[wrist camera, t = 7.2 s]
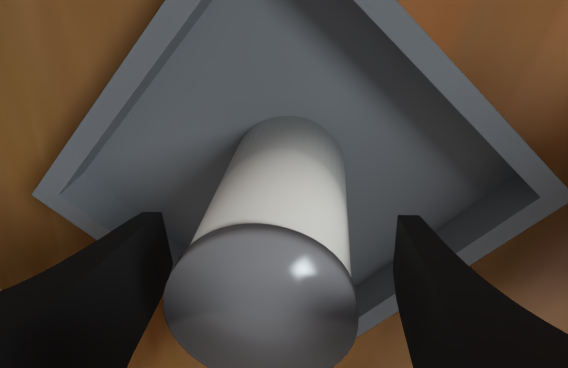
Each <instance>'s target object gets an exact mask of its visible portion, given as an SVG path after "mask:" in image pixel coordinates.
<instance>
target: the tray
mask: <svg viewBox="0 0 568 368" xmlns="http://www.w3.org/2000/svg"><path fill="white" fill-rule="evenodd" d="M278 116H297V117H302V118H306V119H308V120H311V121H313V122H315V123H317V124H319V125H320V126H322V127H323V128H325V129H326V130H327V131H328V132H329V133H330V134H331V135H332V136H333V137H334V138H335V140H336V141H337V143H338V145H339V147H340V149H341V151H342V154H343V158H344V166H345V181H346V197H347V213H348V229H349V245H350V261H351V277H352V280H353V283H354V286H355V289H356V295H357V304H358V318H359V319H358V331H357V335H356V338H357V337H358V336H360V335H361V334H363V333H365V332H366V331H368V330H369V329H371V328H372V327H374V326H376V325H377V324H379V323H380V322H382V321H383V320H385V319H387V318H388V317H390V316H391V315H393V314H394V313H396V312H398V311H399V309H398V305H397V301H396V294H395V286H394V277H393V261H394V250H395V239H396V228H397V217H398V215H419V216H420V217H421V218H422V219H423V220H424V221H425V222H426V223H427V224H428V225H429V226H430V227H431V228H432V230H433V231H434V232H435V233H436V234H437V235H438V236H439V237H440V238H441V239H442V240H443V241H444V242H445V243H446V244H447V245H448V247H449V248H450V249H451V250H453V251H454V252H455V253H456V254H457V255H458V256H459V257H460V258H461V259H462V260H463V261H464V262H465V263H466V264H467V265H468V266H470V265H471V264H473V263H474V262H476V261H478V260H479V259H481V258H482V257H484V256H485V255H487V254H489V253H490V252H492V251H493V250H495V249H496V248H498V247H500V246H501V245H503V244H504V243H506V242H507V241H509V240H511V239H512V238H514V237H515V236H517V235H518V234H520V233H522V232H523V231H525V230H526V229H528V228H529V227H531V226H533V225H534V224H536V223H537V222H539V221H540V220H542V219H544V218H545V217H547V216H548V215H550V214H551V213H553V212H555V211H556V210H558V209H559V208H561V207H562V206H564V205H566V204H567V203H568V188H567V187H566V186H565V185H564V184H563V183H562V182H561V181H560V179H559V178H558V177H557V176H556V175H555V174H554V173H553V172H552V171H551V170H550V168H549V167H548V166H547V165H546V164H545V163H544V162H543V161H542V160H541V159H540V158H539V156H538V155H537V154H536V153H535V152H534V151H533V150H532V149H531V148H530V147H529V145H528V144H527V143H526V142H525V141H524V140H523V139H522V138H521V137H520V136H519V134H518V133H517V132H516V131H515V130H514V129H513V128H512V127H511V126H510V125H509V124H508V122H507V121H506V120H505V119H504V118H503V117H502V116H501V115H500V114H499V113H498V111H497V110H496V109H495V108H494V107H493V106H492V105H491V104H490V103H489V102H488V100H487V99H486V98H485V97H484V96H483V95H482V94H481V93H480V92H479V91H478V90H477V88H476V87H475V86H474V85H473V84H472V83H471V82H470V81H469V80H468V79H467V77H466V76H465V75H464V74H463V73H462V72H461V71H460V70H459V69H458V68H457V66H456V65H455V64H454V63H453V62H452V61H451V60H450V59H449V58H448V57H447V55H446V54H445V53H444V52H443V51H442V50H441V49H440V48H439V47H438V46H437V45H436V43H435V42H434V41H433V40H432V39H431V38H430V37H429V36H428V35H427V34H426V32H425V31H424V30H423V29H422V28H421V27H420V26H419V25H418V24H417V23H416V21H415V20H414V19H413V18H412V17H411V16H410V15H409V14H408V13H407V12H406V11H405V9H404V8H403V7H402V6H401V5H400V4H399V3H398V2H397V1H396V0H165V1H164V3H163V4H162V6H161V7H160V9H159V10H158V11H157V13H156V14H155V16H154V17H153V19H152V20H151V22H150V23H149V25H148V26H147V27H146V29H145V30H144V32H143V33H142V35H141V36H140V38H139V39H138V41H137V42H136V43H135V45H134V46H133V48H132V49H131V51H130V52H129V54H128V55H127V57H126V58H125V59H124V61H123V62H122V64H121V65H120V67H119V68H118V70H117V71H116V73H115V74H114V75H113V77H112V78H111V80H110V81H109V83H108V84H107V86H106V87H105V89H104V90H103V91H102V93H101V94H100V96H99V97H98V99H97V100H96V102H95V103H94V105H93V106H92V107H91V109H90V110H89V112H88V113H87V115H86V116H85V118H84V119H83V121H82V122H81V123H80V125H79V126H78V128H77V129H76V131H75V132H74V134H73V135H72V137H71V138H70V139H69V141H68V142H67V144H66V145H65V147H64V148H63V150H62V151H61V153H60V154H59V155H58V157H57V158H56V160H55V161H54V163H53V164H52V166H51V167H50V169H49V170H48V171H47V173H46V174H45V176H44V177H43V179H42V180H41V182H40V183H39V185H38V186H37V187H36V189H35V190H34V192H33V193H32V196H34V197H35V198H36V199H38V200H39V201H41V202H42V203H44V204H45V205H47V206H48V207H50V208H51V209H52V210H54V211H55V212H57V213H58V214H60V215H61V216H63V217H64V218H65V219H67V220H68V221H70V222H71V223H73V224H74V225H76V226H77V227H78V228H80V229H81V230H83V231H84V232H86V233H87V234H89V235H90V236H92V237H93V238H94V239H96V240H98V239H100V238H102V237H103V236H105V235H106V234H108V233H109V232H111V231H112V230H114V229H116V228H117V227H119V226H120V225H122V224H123V223H125V222H126V221H128V220H130V219H131V218H133V217H135V216H136V215H138V214H140V213H142V212H162V215H163V220H164V224H165V229H166V233H167V238H168V242H169V247H170V251H171V256H172V260H173V267H172V270H171V273H172V271H173V269H174V267H175V265H176V263H177V261H178V259H179V257H180V256H181V255H182V253H183V252H184V251H185V250H186V249H187V248H188V247H189V246H190V244H191V242H192V240H193V238H194V236H195V234H196V232H197V230H198V228H199V225H200V223H201V221H202V219H203V217H204V215H205V213H206V211H207V209H208V207H209V205H210V203H211V201H212V199H213V197H214V195H215V193H216V191H217V189H218V186H219V184H220V182H221V180H222V178H223V176H224V174H225V172H226V170H227V168H228V166H229V164H230V162H231V160H232V158H233V156H234V154H235V152H236V150H237V148H238V145H239V143H240V141H241V140H242V138H243V137H244V135H245V134H246V133H247V132H248V131H249V130H250V129H251V128H253V127H254V126H255V125H257V124H258V123H260V122H262V121H264V120H267V119H269V118H273V117H278ZM171 273H170V275H171ZM169 277H170V276H169Z"/></svg>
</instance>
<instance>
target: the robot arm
mask: <svg viewBox="0 0 568 368" xmlns="http://www.w3.org/2000/svg"><path fill="white" fill-rule="evenodd" d="M172 267H173V260H172V256H171V251H170V247H169V242H168V238H167V233H166V229H165V224H164V220H163V215H162V212H142V213H140V214H138V215H136V216H135V217H133V218H131V219H130V220H128V221H126V222H125V223H123V224H122V225H120V226H119V227H117V228H116V229H114V230H112V231H111V232H109V233H108V234H106V235H105V236H103V237H102V238H100V239H98V240H97V241H95V242H94V243H92V244H91V245H89V246H87V247H86V248H84V249H82V250H81V251H79V252H77V253H76V254H74V255H72V256H70V257H69V258H67V259H65V260H64V261H62V262H60V263H59V264H57V265H55V266H53V267H51V268H49V269H47V270H46V271H44V272H42V273H40V274H38V275H36V276H34V277H32V278H29V279H27V280H25V281H23V282H21V283H19V284H17V285H14V286H12V287H10V288H7V289H5V290H3V291H0V368H127V366H128V364H129V361H130V359H131V357H132V355H133V353H134V351H135V349H136V347H137V345H138V343H139V341H140V339H141V337H142V335H143V333H144V331H145V329H146V327H147V325H148V323H149V321H150V319H151V317H152V315H153V313H154V311H155V309H156V307H157V305H158V303H159V301H160V299H161V297H162V295H163V293H164V290H165V286H166V283H167V281H168V279H169V276H170V273H171V270H172ZM393 277H394V286H395V294H396V301H397V305H398V309H399V313H400V317H401V321H402V325H403V329H404V333H405V337H406V341H407V345H408V349H409V353H410V357H411V361H412V364H413V368H568V334H567V333H565V332H563V331H561V330H560V329H558V328H556V327H554V326H553V325H551V324H549V323H547V322H546V321H544V320H542V319H541V318H539V317H538V316H536V315H534V314H533V313H531V312H530V311H528V310H526V309H525V308H523V307H522V306H520V305H519V304H517V303H516V302H514V301H513V300H511V299H510V298H509V297H507V296H506V295H504V294H503V293H502V292H500V291H499V290H498V289H496V288H495V287H494V286H492V285H491V284H490V283H488V282H487V281H486V280H485V279H483V278H482V277H481V276H480V275H479V274H478V273H476V272H475V271H474V270H473V269H472V268H471V267H469V266H468V265H467V264H466V263H465V262H464V261H463V260H462V259H461V258H460V257H459V256H458V255H457V254H456V253H455V252H454V251H453V250H451V249H450V248H449V247H448V245H447V244H446V243H445V242H444V241H443V240H442V239H441V238H440V237H439V236H438V235H437V234H436V233H435V232H434V231H433V230H432V228H431V227H430V226H429V225H428V224H427V223H426V222H425V221H424V220H423V219H422V218H421V217H420V216H419V215H398V217H397V228H396V239H395V250H394V261H393Z"/></svg>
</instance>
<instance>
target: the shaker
mask: <svg viewBox="0 0 568 368" xmlns="http://www.w3.org/2000/svg"><path fill="white" fill-rule="evenodd" d="M163 311H164V315H165V319H166V322H167V324H168V327H169V329H170V331H171V333H172V334H173V336H174V337H175V339H176V340H177V341H178V343H179V344H180V345H181V346H182V347H183V348H184V349H185V350H186V351H187V352H188V353H189V354H190V355H191V356H192V357H194V358H195V359H196V360H198V361H199V362H201V363H202V364H204V365H205V366H207V367H209V368H332V367H334V366H335V365H336V364H337V363H338V362H340V361H341V360H342V359H343V358H344V356H345V355H346V354H347V353H348V351H349V350H350V348H351V347H352V345H353V343H354V341H355V338H356V335H357V331H358V319H359V318H358V304H357V295H356V289H355V286H354V283H353V280H352V277H351V261H350V245H349V229H348V213H347V197H346V181H345V166H344V158H343V154H342V151H341V149H340V147H339V145H338V143H337V141H336V140H335V138H334V137H333V136H332V135H331V134H330V133H329V132H328V131H327V130H326V129H325V128H323V127H322V126H320V125H319V124H317V123H315V122H313V121H311V120H308V119H306V118H302V117H297V116H278V117H273V118H269V119H267V120H264V121H262V122H260V123H258V124H257V125H255V126H254V127H253V128H251V129H250V130H249V131H248V132H247V133H246V134H245V135H244V137H243V138H242V140H241V141H240V143H239V145H238V148H237V150H236V152H235V154H234V156H233V158H232V160H231V162H230V164H229V166H228V168H227V170H226V172H225V174H224V176H223V178H222V180H221V182H220V184H219V186H218V189H217V191H216V193H215V195H214V197H213V199H212V201H211V203H210V205H209V207H208V209H207V211H206V213H205V215H204V217H203V219H202V221H201V223H200V225H199V228H198V230H197V232H196V234H195V236H194V238H193V240H192V242H191V244H190V246H189V247H188V248H187V249H186V250H185V251H184V252H183V253H182V255H181V256H180V257H179V259H178V261H177V263H176V265H175V267H174V269H173V271H172V273H171V275H170V277H169V279H168V281H167V283H166V286H165V290H164V294H163Z"/></svg>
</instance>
